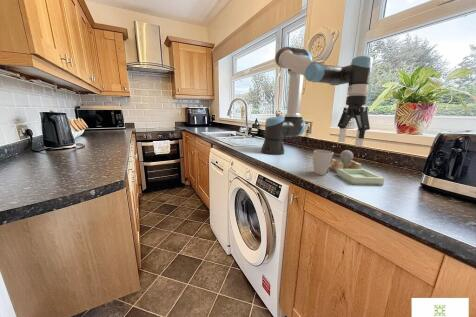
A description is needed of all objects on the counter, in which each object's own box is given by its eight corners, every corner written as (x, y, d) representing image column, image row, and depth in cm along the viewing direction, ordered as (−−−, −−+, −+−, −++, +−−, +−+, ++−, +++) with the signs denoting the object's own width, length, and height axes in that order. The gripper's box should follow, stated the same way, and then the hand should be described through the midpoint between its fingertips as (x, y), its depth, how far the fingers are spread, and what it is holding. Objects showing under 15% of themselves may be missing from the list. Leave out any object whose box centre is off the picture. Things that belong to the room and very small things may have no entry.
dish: (336, 174, 86) (337, 168, 86) (363, 175, 87) (364, 169, 86) (352, 184, 75) (353, 177, 74) (383, 185, 75) (384, 178, 74)
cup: (332, 177, 83) (336, 154, 81) (312, 175, 84) (315, 152, 82) (327, 171, 91) (331, 150, 88) (309, 170, 92) (312, 149, 90)
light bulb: (336, 170, 93) (339, 149, 90) (339, 168, 97) (343, 148, 94) (348, 173, 89) (352, 151, 87) (352, 170, 93) (355, 150, 91)
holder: (329, 167, 97) (331, 158, 96) (348, 168, 98) (349, 159, 96) (339, 173, 88) (341, 163, 87) (359, 174, 88) (361, 164, 87)
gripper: (333, 97, 97) (328, 140, 102) (367, 92, 73) (357, 148, 77) (348, 98, 97) (342, 140, 102) (386, 92, 73) (376, 148, 77)
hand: (349, 143), depth 89 cm, fingers open, 13 cm apart
